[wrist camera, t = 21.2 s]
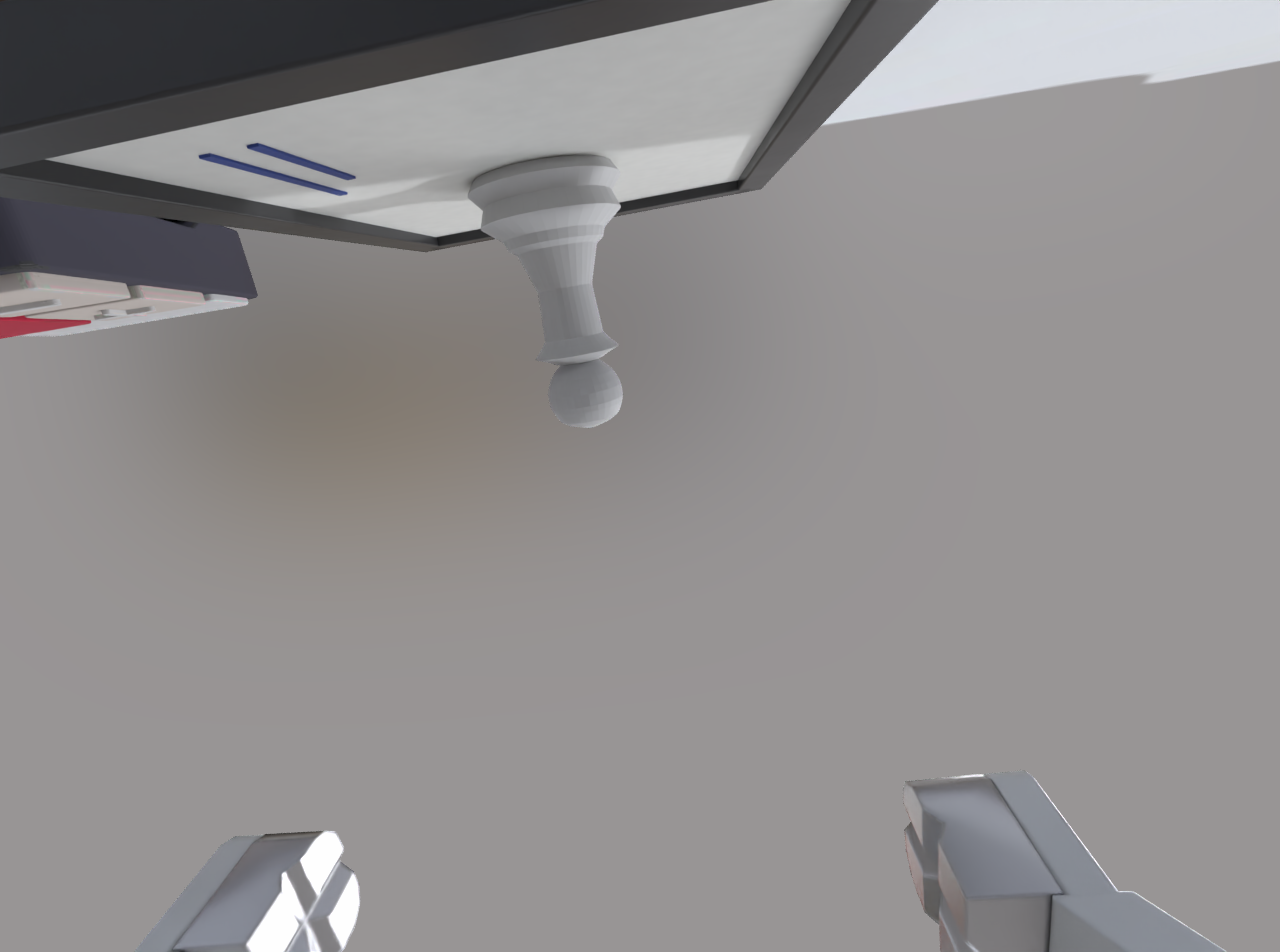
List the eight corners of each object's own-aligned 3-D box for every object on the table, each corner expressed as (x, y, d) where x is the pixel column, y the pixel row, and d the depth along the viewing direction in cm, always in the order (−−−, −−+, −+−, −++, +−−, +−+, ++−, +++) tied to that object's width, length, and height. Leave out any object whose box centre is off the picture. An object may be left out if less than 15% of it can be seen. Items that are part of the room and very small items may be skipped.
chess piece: (575, 188, 21) (615, 406, 23) (446, 197, 19) (504, 437, 21) (648, 150, 17) (687, 416, 20) (496, 156, 15) (561, 456, 17)
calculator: (41, 291, 19) (266, 311, 33) (-21, 143, 18) (240, 230, 32) (-346, 352, 18) (60, 345, 32) (-434, 201, 17) (26, 264, 31)
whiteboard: (1051, -542, 6) (1036, -100, 7) (754, 104, 26) (762, 189, 27) (-344, -129, 7) (-182, 174, 8) (404, 175, 27) (424, 252, 28)
